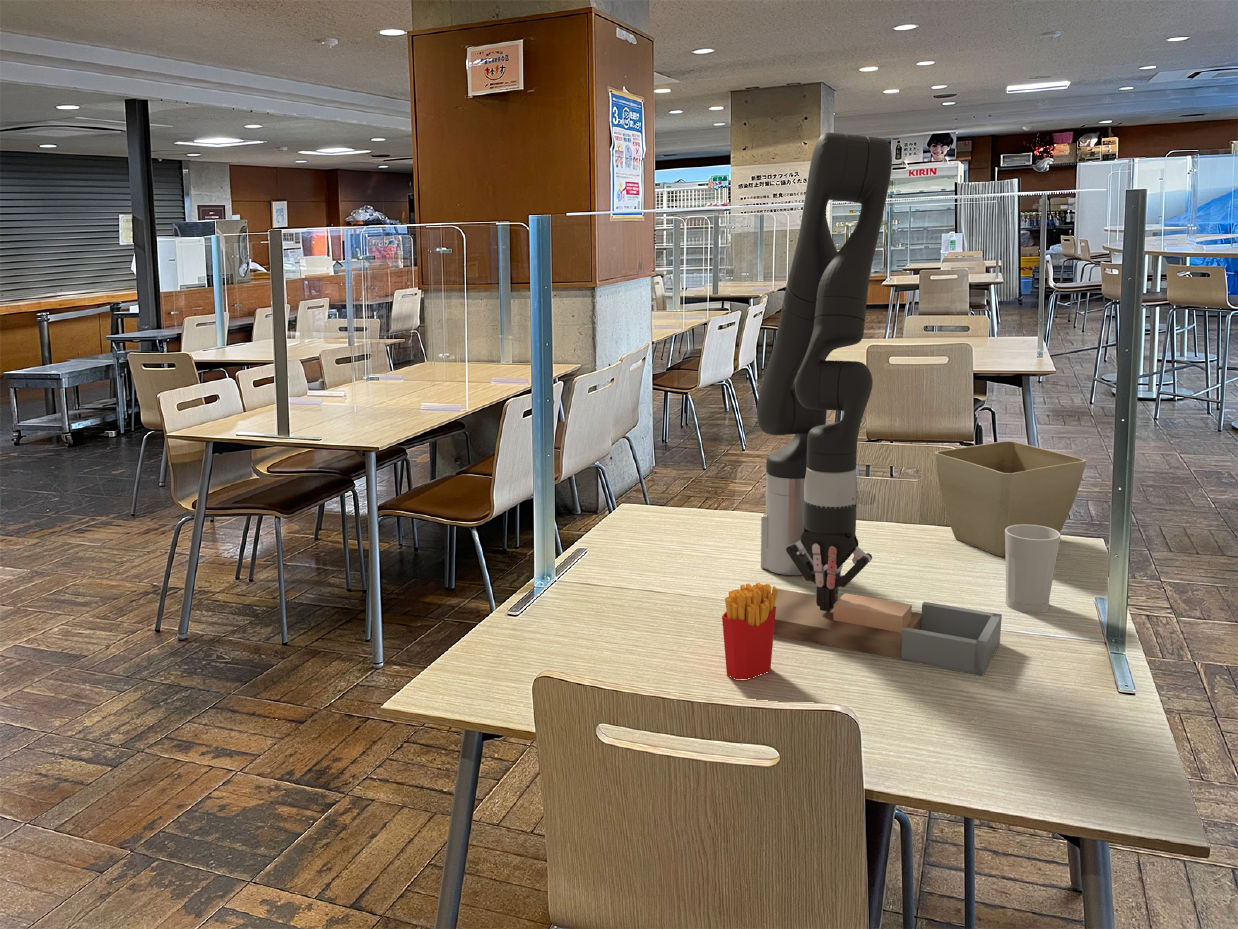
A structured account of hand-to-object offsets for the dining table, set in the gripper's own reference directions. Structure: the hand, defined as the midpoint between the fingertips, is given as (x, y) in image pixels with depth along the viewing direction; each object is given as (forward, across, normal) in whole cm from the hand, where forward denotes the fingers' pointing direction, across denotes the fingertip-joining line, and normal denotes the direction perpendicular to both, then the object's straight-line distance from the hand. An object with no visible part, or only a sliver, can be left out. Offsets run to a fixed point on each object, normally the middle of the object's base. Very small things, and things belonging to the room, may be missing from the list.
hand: (827, 609), depth 152 cm
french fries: (+3, -4, -19) cm, 20 cm away
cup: (+3, +24, +24) cm, 34 cm away
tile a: (0, +4, 0) cm, 4 cm away
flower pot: (+3, +15, +53) cm, 56 cm away
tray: (+3, +18, 0) cm, 18 cm away
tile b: (0, +9, 0) cm, 9 cm away
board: (+3, +1, 0) cm, 3 cm away
